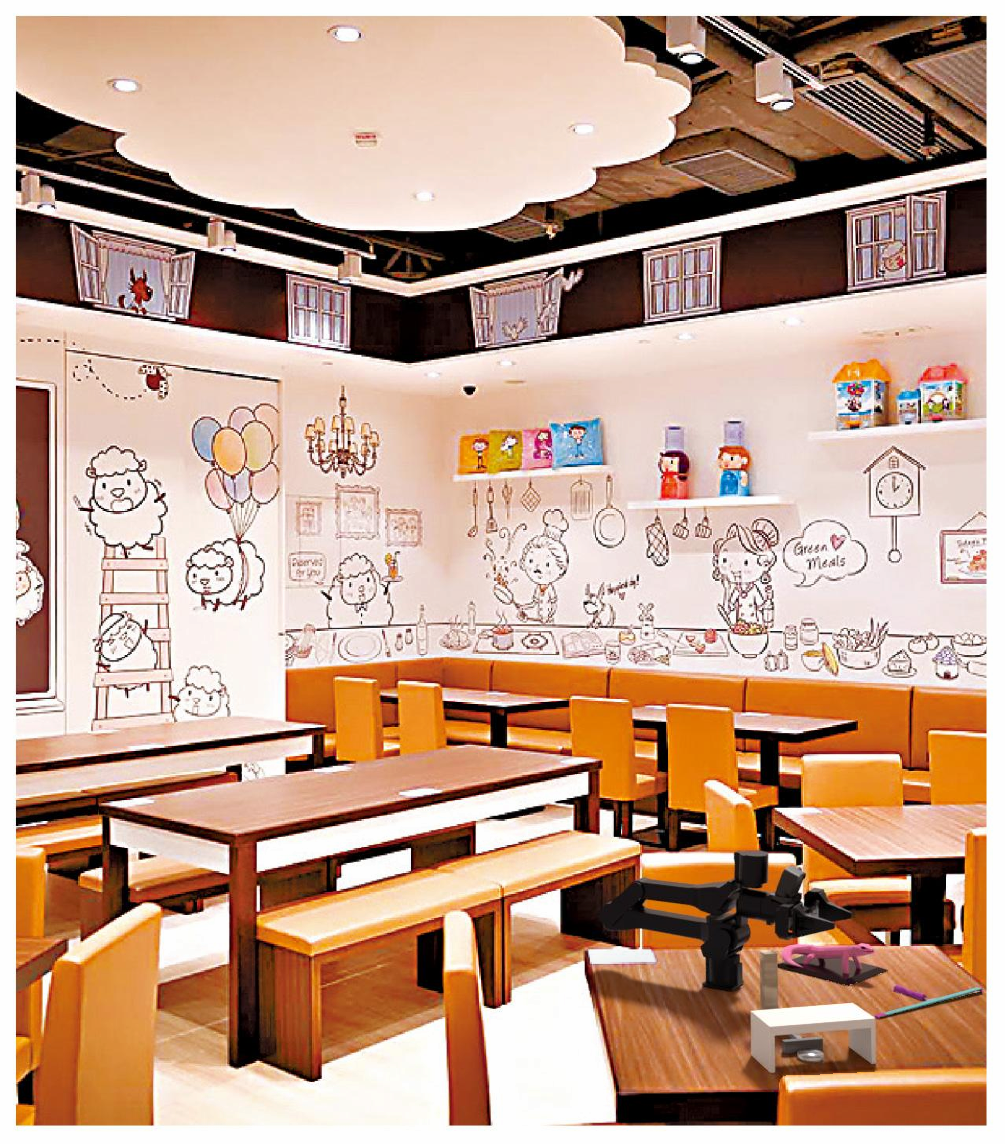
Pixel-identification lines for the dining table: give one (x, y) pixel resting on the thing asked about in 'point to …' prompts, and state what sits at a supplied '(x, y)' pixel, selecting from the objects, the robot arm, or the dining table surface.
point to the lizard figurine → (830, 962)
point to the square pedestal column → (771, 1002)
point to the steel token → (810, 1055)
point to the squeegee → (922, 996)
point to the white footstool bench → (811, 1028)
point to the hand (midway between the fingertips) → (843, 920)
